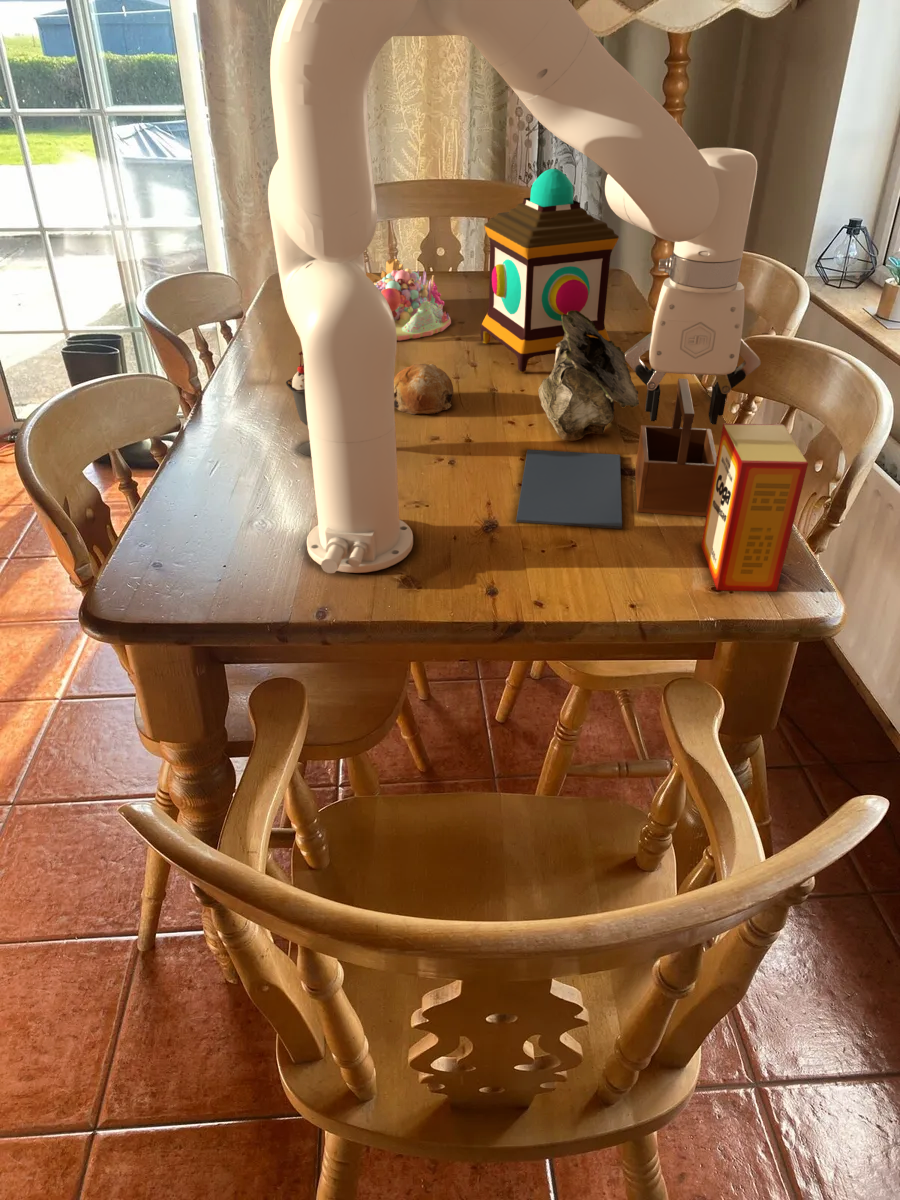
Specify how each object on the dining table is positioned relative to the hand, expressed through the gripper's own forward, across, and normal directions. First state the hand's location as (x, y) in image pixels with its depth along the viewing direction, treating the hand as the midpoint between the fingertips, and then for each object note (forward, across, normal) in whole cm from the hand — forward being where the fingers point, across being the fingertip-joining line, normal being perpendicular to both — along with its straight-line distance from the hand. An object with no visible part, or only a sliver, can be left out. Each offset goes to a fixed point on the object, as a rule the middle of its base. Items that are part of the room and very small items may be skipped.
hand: (682, 417), depth 113 cm
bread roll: (+11, -38, +25) cm, 46 cm away
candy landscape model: (+11, -50, +66) cm, 83 cm away
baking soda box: (+11, +6, -17) cm, 21 cm away
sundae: (+11, -50, +7) cm, 51 cm away
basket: (+11, 0, 0) cm, 11 cm away
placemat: (+11, -13, 0) cm, 17 cm away
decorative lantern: (+11, -20, +51) cm, 56 cm away
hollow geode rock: (+11, -12, +26) cm, 30 cm away
